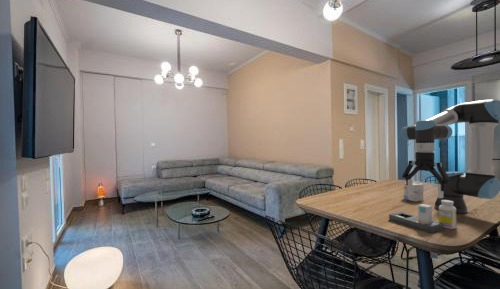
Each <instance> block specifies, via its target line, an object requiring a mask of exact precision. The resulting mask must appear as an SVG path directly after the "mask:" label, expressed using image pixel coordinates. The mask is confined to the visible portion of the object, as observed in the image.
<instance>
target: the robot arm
mask: <svg viewBox="0 0 500 289" xmlns="http://www.w3.org/2000/svg"><path fill="white" fill-rule="evenodd" d="M458 123H459V124H460V123H461V124H462V123H468V125H469V126H470V127H471V128H472V130H471V144H470V145H471V146H470V159H469V169H468V170H466V171H465V173H464V172H463V171H446V170H445V169H444V164H443V162H435V159H436V157H435V155H436V154H435V151H436V148H435V147H436V146H435V140H438V141H439V140H441V141H443V140H447V139H449V138H451V137H452V135H453V129H452V127H451V126H452V125H455V124H458ZM499 124H500V100H498V99H496V98H495V99H492V98H491V99H483V100H482V99H481V100H475V101H470V102H469V101H467V102H462V103H459V104H455V105H453V106H450V107H448V108H446V109H442V111H441V112H440V113H438V114H436V115H434V116H432V117H430V118H428V119H422V120H417V121H416V122H415V124H414V125H412V126H411V125H410V126H409V125H407V126H403V127H402V128H401V129H400V132H399V133H400V137H401V138H402V139H403V140H405V141H415V147H414V148H415V160H408V162H407V163H408V164H407V166H406V168H405V170H404V171H403V174H402V176H401V177H402V178H404V179H405V183H406V185H408V192H412V180H413V179H412V178H413V177H414V176H415V175H416V174H417V173H418V172H419V171H421V172H422V171H424V172H430V173H431V175H433V177H434V178H435V179H436V180H437V190H438V191H437V192H438V194H437V197H436V200H435V202H434V208H435V209H437V210H438V211H439V206H440V205H442V203H441V200H450V201H453V202H454V204H453V206H454V207H455V208H456V214H466V213H468V206H467V204H466V201H465V198H464V196H468V197H473V198H479V199H484V200H492V199H494V198H496V197H497V196H498V195H499V193H500V179H499V178H497V177H496V174H495V173H494V172H493V171H492V167H493V166H492V165H493V152H494V138H495V128H496V127H497V126H498V125H499ZM450 125H451V126H450ZM414 165H415V167H414ZM413 167H414V168H413ZM435 167H436V168H435ZM436 169H437V170H438V171H437V170H436Z"/></svg>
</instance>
